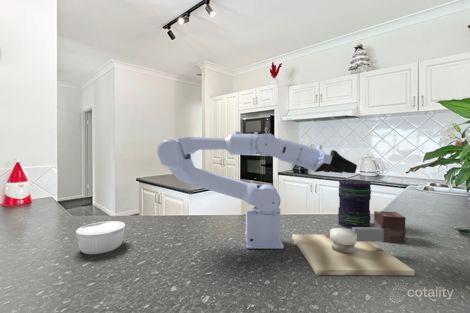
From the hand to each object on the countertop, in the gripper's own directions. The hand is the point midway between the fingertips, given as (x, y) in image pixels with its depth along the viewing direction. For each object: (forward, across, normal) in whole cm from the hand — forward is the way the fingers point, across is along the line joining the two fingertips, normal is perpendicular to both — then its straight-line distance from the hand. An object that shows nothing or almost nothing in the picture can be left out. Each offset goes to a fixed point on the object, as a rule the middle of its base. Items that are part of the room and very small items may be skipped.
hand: (348, 169), depth 61 cm
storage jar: (+15, +20, +16) cm, 29 cm away
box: (+20, +9, +15) cm, 26 cm away
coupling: (+5, -3, +17) cm, 18 cm away
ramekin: (-56, -3, +38) cm, 67 cm away
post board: (+3, -2, +21) cm, 21 cm away
